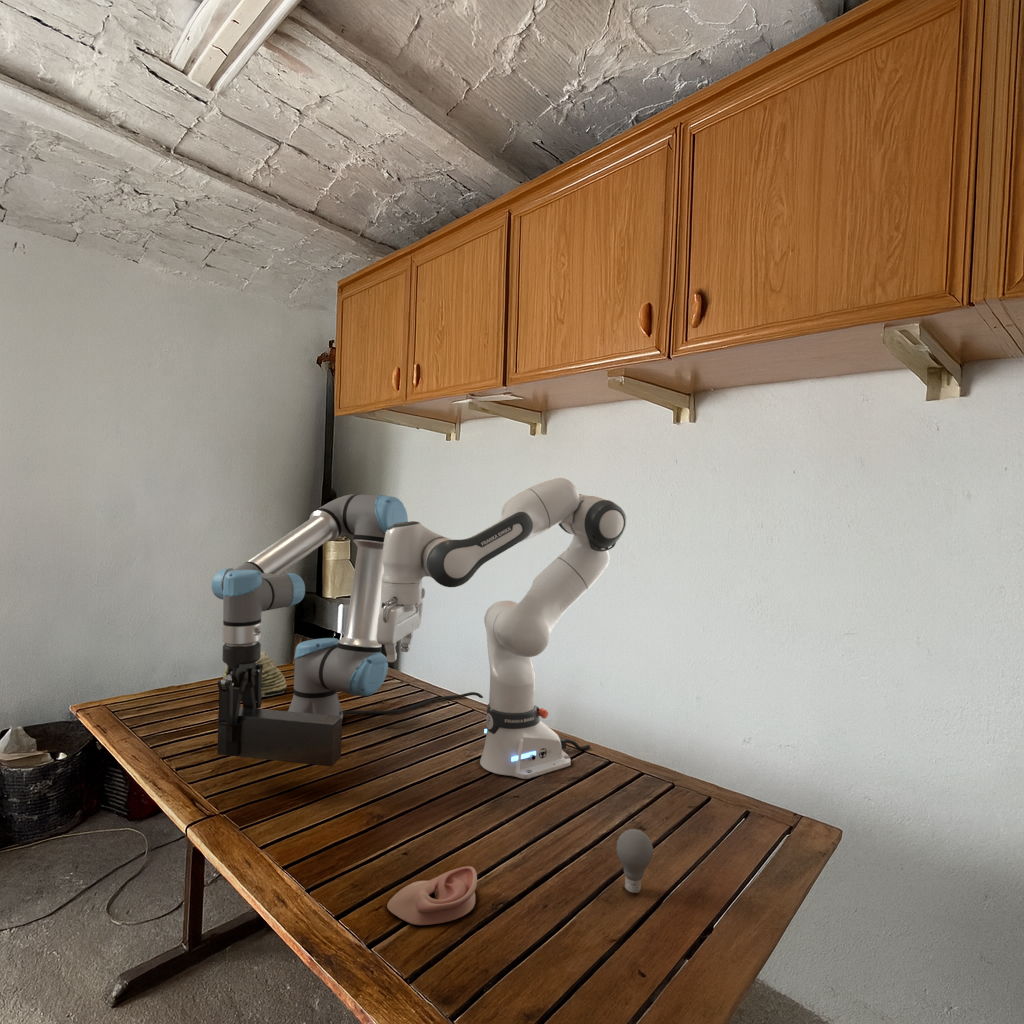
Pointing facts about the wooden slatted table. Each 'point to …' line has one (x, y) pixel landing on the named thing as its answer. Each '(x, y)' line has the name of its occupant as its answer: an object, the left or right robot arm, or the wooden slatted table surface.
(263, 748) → the bar
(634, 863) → the light bulb
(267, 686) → the fossil
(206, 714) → the wooden slatted table surface
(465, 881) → the anatomical model
